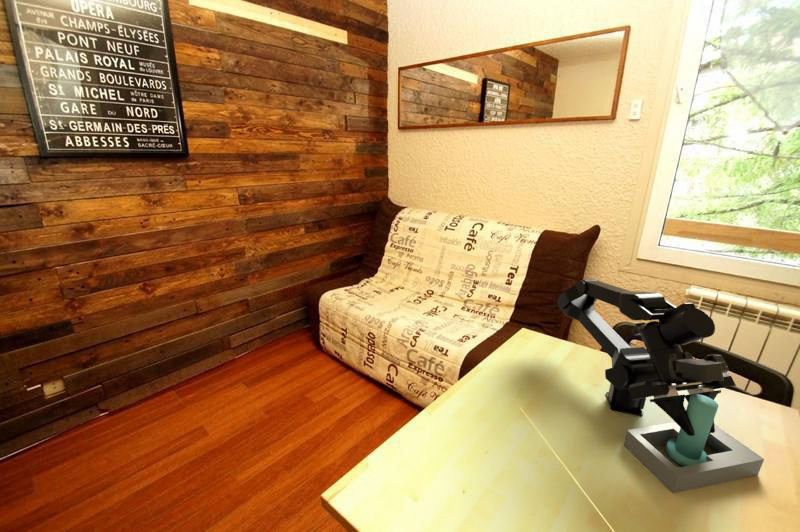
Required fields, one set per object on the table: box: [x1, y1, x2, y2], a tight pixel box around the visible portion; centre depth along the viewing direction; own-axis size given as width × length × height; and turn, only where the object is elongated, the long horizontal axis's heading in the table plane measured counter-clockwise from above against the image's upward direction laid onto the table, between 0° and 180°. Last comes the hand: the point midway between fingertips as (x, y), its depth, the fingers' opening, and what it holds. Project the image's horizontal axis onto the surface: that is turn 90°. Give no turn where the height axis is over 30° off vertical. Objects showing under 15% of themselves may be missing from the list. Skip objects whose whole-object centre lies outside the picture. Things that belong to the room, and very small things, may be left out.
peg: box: [665, 394, 719, 467], centre depth 67 cm, size 6×6×13 cm
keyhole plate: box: [623, 421, 765, 494], centre depth 68 cm, size 19×11×4 cm, turn 101°
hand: (701, 434), depth 65 cm, fingers closed on peg, 4 cm apart
